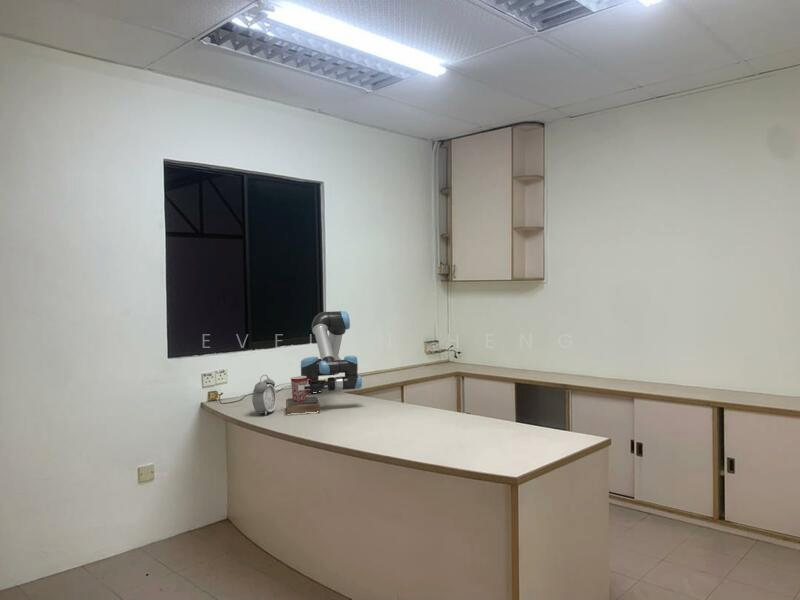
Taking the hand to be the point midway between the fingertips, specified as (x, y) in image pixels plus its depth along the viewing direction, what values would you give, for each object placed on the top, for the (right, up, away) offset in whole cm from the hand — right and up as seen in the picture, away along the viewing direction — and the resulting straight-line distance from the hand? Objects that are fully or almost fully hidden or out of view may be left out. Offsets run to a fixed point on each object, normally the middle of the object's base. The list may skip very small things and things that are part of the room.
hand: (297, 385), depth 317 cm
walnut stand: (+3, -15, +1) cm, 15 cm away
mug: (+2, -9, +1) cm, 9 cm away
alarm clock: (-17, -15, -5) cm, 24 cm away
